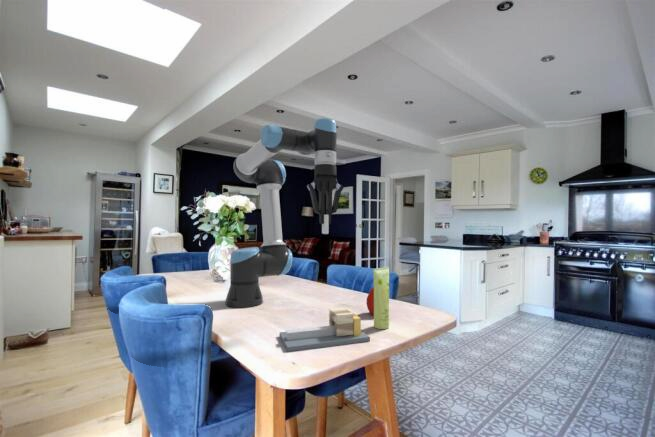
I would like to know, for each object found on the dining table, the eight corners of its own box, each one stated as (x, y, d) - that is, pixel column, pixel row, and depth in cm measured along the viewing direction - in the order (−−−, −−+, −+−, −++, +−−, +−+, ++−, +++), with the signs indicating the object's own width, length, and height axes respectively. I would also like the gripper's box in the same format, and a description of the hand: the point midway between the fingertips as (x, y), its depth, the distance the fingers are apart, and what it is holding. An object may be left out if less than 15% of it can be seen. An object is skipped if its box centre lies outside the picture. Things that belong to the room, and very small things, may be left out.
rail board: (279, 336, 94) (279, 315, 95) (353, 328, 102) (353, 308, 102) (287, 351, 83) (287, 328, 83) (369, 341, 91) (369, 319, 91)
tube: (389, 330, 100) (389, 268, 100) (373, 329, 101) (373, 268, 101) (389, 325, 105) (388, 266, 106) (373, 324, 106) (373, 266, 107)
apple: (384, 318, 113) (384, 288, 113) (362, 315, 117) (362, 286, 117) (391, 313, 120) (391, 284, 120) (370, 310, 124) (370, 282, 124)
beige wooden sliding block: (329, 328, 97) (329, 309, 97) (344, 327, 99) (344, 307, 99) (337, 336, 90) (337, 315, 90) (353, 334, 92) (353, 313, 92)
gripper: (310, 161, 103) (309, 234, 102) (347, 164, 107) (347, 233, 107) (304, 165, 110) (304, 233, 110) (339, 168, 114) (339, 233, 114)
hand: (325, 233), depth 108 cm, fingers closed
